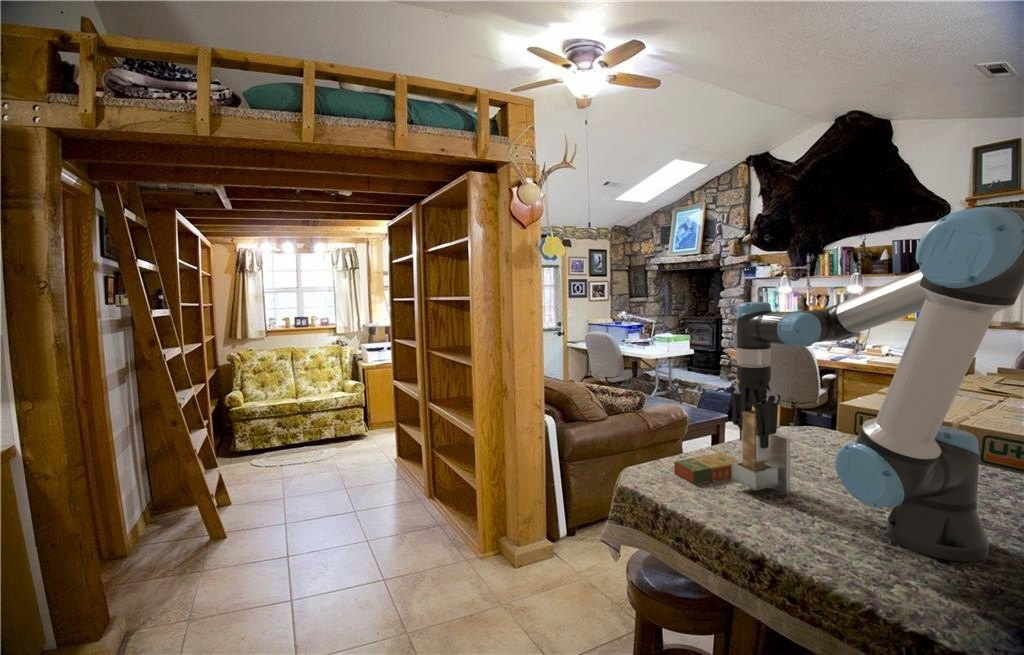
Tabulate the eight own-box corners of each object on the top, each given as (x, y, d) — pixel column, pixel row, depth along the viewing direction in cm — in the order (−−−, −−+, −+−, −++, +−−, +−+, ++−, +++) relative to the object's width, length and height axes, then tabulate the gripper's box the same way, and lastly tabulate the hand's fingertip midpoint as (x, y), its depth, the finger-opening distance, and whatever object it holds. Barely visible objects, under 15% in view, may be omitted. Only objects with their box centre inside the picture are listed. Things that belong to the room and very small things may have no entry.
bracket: (790, 493, 120) (790, 437, 119) (760, 501, 117) (759, 444, 116) (756, 479, 130) (756, 427, 129) (727, 486, 126) (727, 433, 125)
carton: (743, 476, 133) (743, 461, 133) (693, 486, 128) (693, 470, 128) (721, 466, 141) (721, 451, 140) (673, 475, 136) (673, 460, 136)
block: (765, 468, 122) (765, 413, 120) (754, 470, 120) (754, 415, 119) (753, 463, 125) (753, 410, 124) (742, 466, 124) (742, 411, 122)
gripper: (795, 367, 114) (794, 465, 116) (738, 359, 129) (738, 445, 131) (771, 371, 111) (771, 471, 113) (716, 362, 127) (717, 449, 129)
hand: (753, 457), depth 122 cm, fingers closed on block, 4 cm apart
